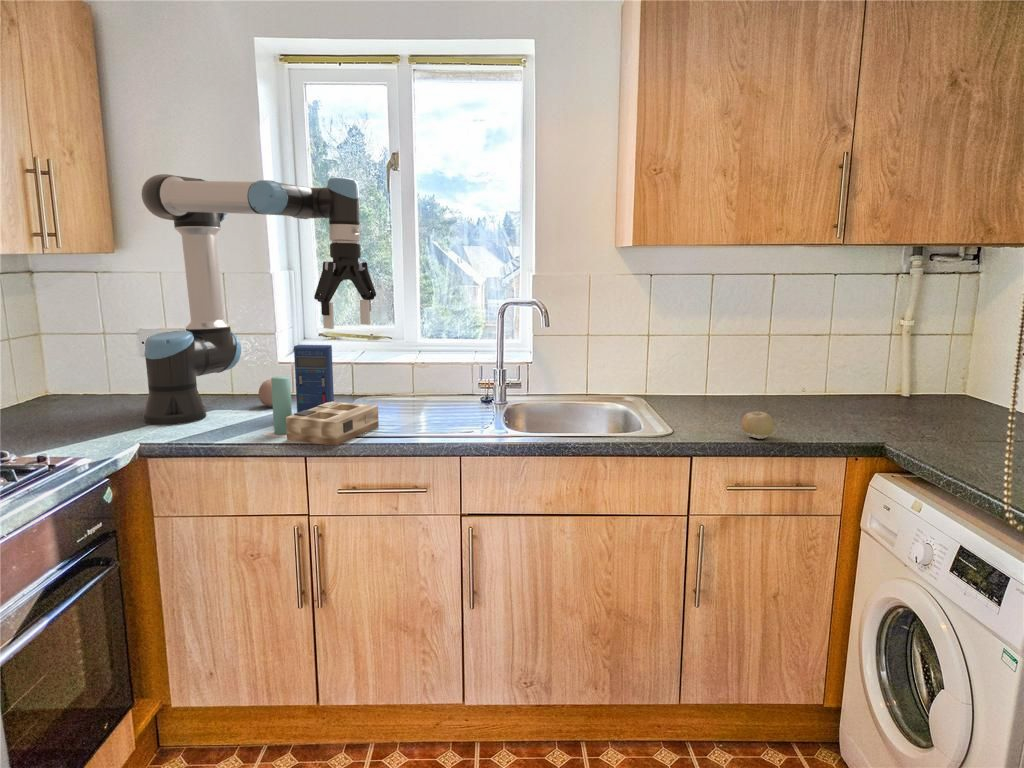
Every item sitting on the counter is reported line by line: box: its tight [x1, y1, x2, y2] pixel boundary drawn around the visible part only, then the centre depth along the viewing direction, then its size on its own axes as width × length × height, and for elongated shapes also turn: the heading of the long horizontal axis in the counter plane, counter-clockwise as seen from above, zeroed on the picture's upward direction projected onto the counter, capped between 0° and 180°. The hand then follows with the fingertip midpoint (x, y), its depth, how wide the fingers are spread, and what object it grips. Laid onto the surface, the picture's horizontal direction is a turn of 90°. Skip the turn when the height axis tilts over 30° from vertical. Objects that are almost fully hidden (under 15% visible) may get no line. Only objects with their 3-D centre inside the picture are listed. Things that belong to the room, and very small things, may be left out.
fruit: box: [741, 408, 774, 436], centre depth 165 cm, size 8×7×8 cm
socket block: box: [286, 401, 379, 447], centre depth 162 cm, size 14×19×6 cm
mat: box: [260, 429, 287, 439], centre depth 162 cm, size 8×8×1 cm
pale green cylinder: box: [270, 376, 293, 435], centre depth 161 cm, size 4×4×14 cm
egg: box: [258, 378, 273, 408], centre depth 191 cm, size 7×7×8 cm
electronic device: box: [293, 344, 335, 413], centre depth 179 cm, size 10×5×20 cm, turn 91°
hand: (347, 326), depth 167 cm, fingers open, 13 cm apart
